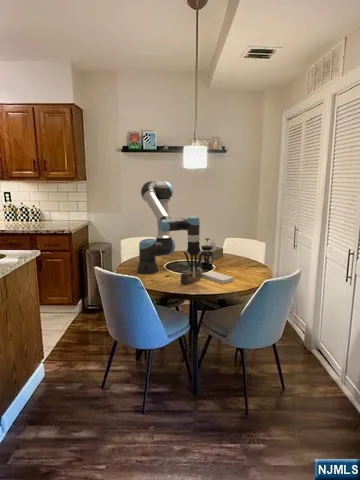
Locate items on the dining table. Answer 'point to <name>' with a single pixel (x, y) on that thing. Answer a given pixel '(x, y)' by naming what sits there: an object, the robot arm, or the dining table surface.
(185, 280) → the bar
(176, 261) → the dining table surface
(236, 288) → the dining table surface
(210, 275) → the table-top board
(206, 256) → the french press
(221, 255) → the tissue box
